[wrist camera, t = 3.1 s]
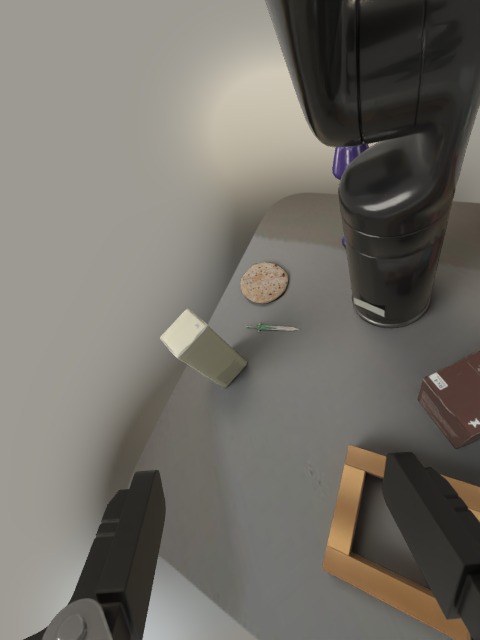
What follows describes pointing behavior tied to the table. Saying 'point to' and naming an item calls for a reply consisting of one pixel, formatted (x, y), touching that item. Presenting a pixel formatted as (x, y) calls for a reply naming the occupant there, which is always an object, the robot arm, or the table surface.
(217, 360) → the box
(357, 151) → the toy lamp
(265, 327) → the sword
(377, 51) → the robot arm
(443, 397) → the box
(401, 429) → the table surface
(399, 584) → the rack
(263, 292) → the flatbread
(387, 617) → the table surface
